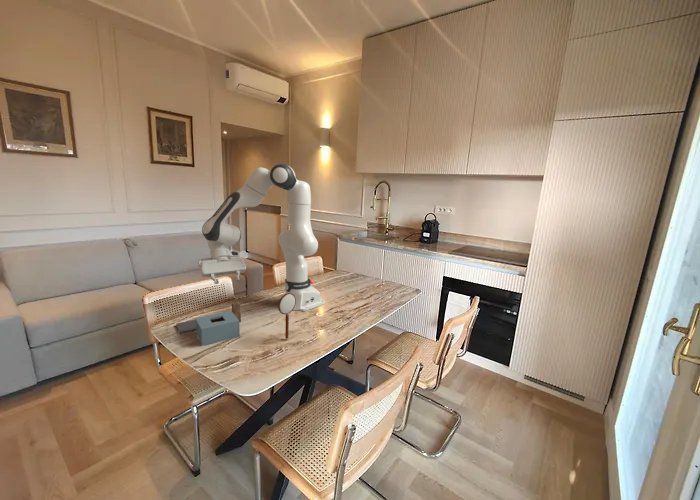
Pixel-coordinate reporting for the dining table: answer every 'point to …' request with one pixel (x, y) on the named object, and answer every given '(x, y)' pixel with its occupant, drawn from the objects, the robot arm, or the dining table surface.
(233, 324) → the box
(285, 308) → the magnifying glass
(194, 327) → the pad
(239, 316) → the upright wooden post
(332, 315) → the dining table surface
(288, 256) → the robot arm
